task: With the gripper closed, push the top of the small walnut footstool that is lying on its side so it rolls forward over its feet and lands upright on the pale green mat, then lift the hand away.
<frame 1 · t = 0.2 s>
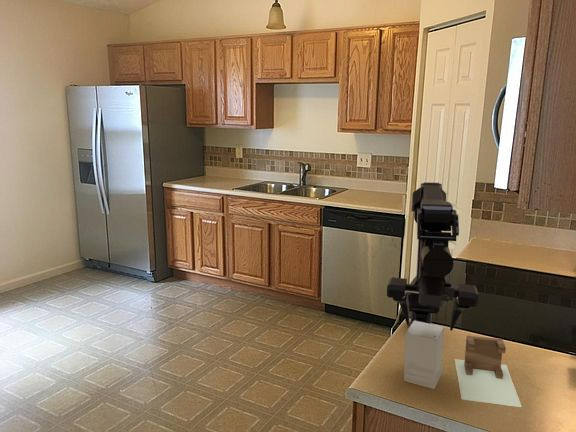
hand: (429, 327, 104), 14 cm above the table, tool pointing down, fingers open, 9 cm apart
supplement box: (422, 378, 110), on the table
footstool: (481, 367, 113), resting on mat
mat: (485, 382, 108), on the table
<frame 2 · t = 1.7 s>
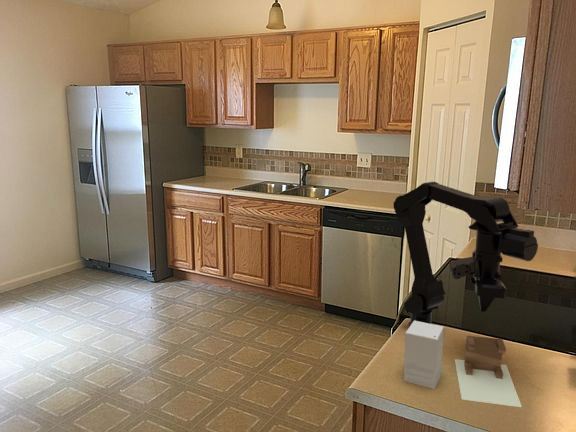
hand: (482, 310, 115), 13 cm above the table, tool pointing down, fingers closed
nothing on the table moved.
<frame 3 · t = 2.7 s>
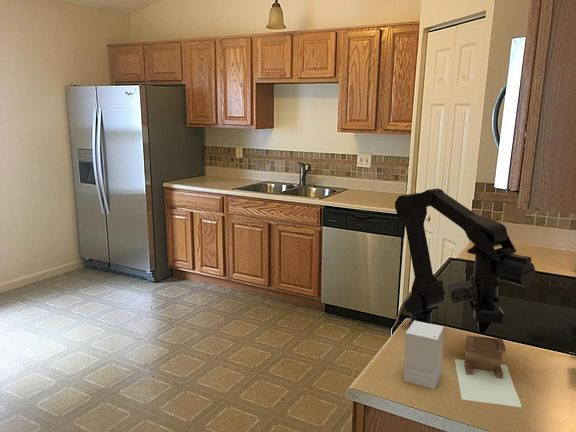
hand: (481, 333, 116), 7 cm above the table, tool pointing down, fingers closed
nothing on the table moved.
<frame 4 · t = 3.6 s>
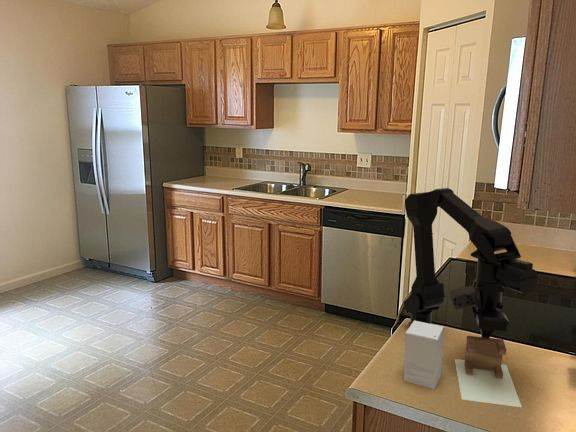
hand: (484, 340, 112), 7 cm above the table, tool pointing down, fingers closed
footstool: (481, 365, 113), point 1 cm above the table, tilted 6°, touching gripper, mat
everything else where it was.
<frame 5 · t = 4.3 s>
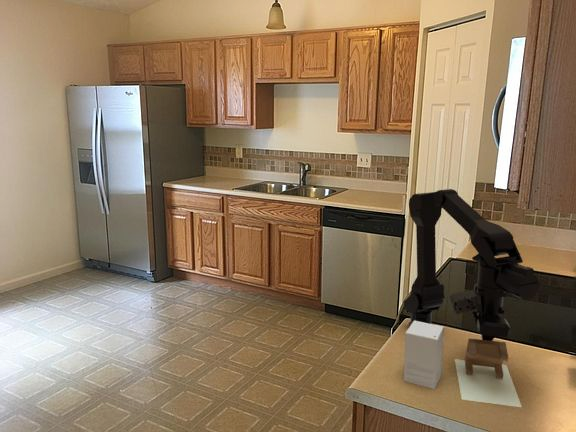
hand: (485, 345, 110), 7 cm above the table, tool pointing down, fingers closed
footstool: (482, 361, 113), point 2 cm above the table, tilted 23°, touching gripper, mat
everything else where it was.
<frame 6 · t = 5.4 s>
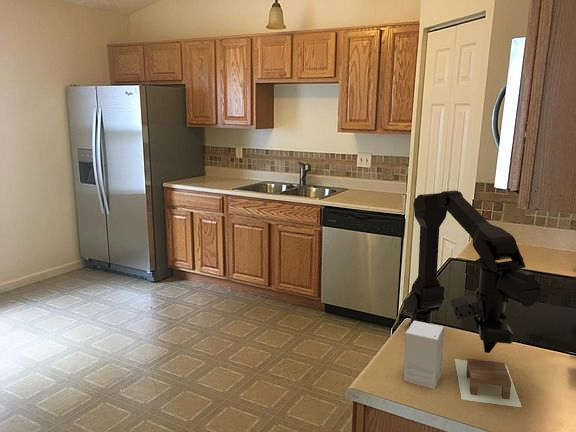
hand: (486, 351, 107), 7 cm above the table, tool pointing down, fingers closed
footstool: (485, 360, 108), point 4 cm above the table, tilted 90°, touching mat
everything else where it was.
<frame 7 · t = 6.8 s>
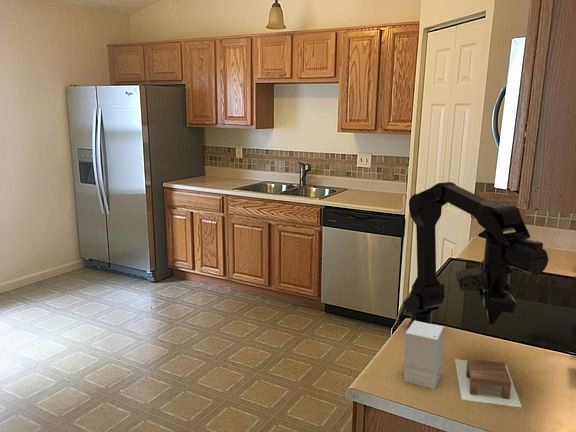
hand: (490, 323, 109), 13 cm above the table, tool pointing down, fingers closed
nothing on the table moved.
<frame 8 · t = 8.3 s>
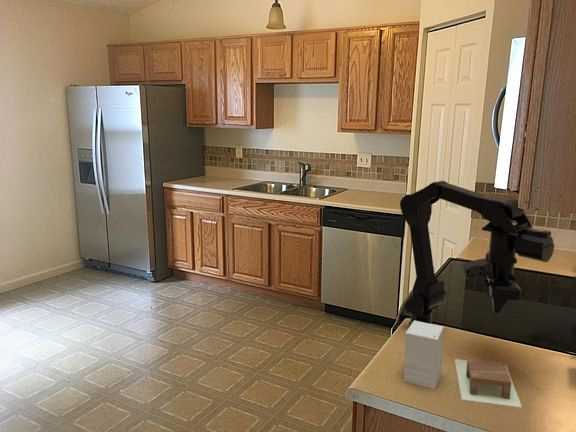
hand: (496, 312, 114), 13 cm above the table, tool pointing down, fingers closed
nothing on the table moved.
at the end: footstool tilted 90°; footstool inside the target area (0.8 cm from its centre), point 4.5 cm above the table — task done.
